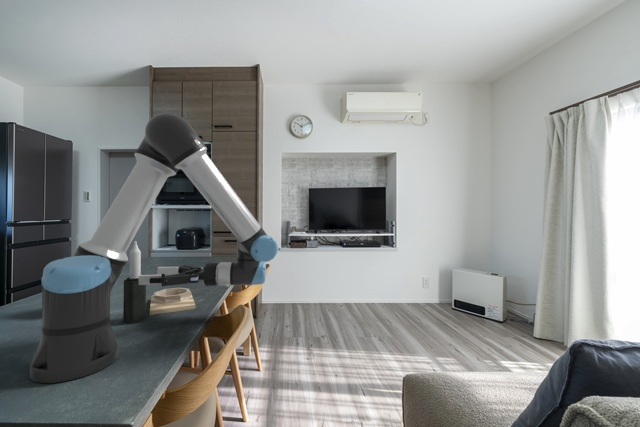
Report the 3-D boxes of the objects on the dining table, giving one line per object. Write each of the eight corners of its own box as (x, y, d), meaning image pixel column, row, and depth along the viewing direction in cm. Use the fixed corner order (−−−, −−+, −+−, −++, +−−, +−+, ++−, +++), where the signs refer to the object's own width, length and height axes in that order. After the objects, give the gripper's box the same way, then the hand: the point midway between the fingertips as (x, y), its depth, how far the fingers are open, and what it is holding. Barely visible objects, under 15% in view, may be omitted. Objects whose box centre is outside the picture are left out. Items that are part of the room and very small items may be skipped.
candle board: (195, 308, 104) (195, 297, 104) (149, 315, 97) (149, 303, 97) (190, 295, 121) (190, 285, 121) (151, 299, 114) (151, 289, 114)
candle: (147, 319, 93) (148, 240, 93) (130, 324, 89) (130, 242, 89) (139, 316, 96) (139, 240, 96) (121, 320, 92) (122, 241, 92)
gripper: (209, 295, 84) (129, 298, 81) (224, 277, 109) (164, 278, 106) (209, 269, 84) (129, 271, 81) (225, 257, 109) (164, 257, 106)
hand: (149, 275), depth 93 cm, fingers open, 13 cm apart
